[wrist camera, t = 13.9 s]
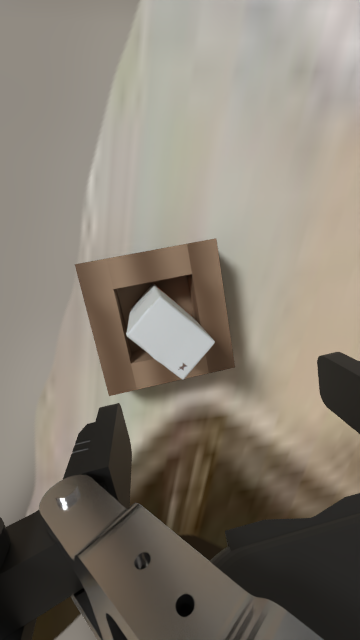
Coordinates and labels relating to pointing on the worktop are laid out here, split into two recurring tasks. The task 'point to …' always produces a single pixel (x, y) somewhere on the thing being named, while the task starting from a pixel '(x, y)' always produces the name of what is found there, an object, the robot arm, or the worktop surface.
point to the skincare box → (167, 332)
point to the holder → (128, 287)
